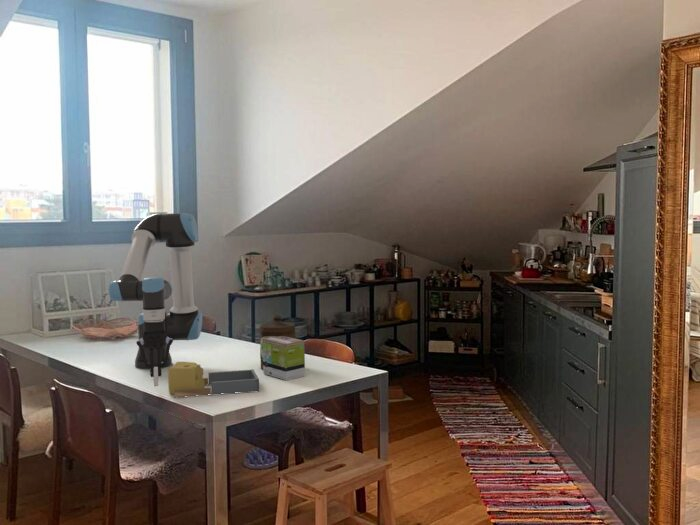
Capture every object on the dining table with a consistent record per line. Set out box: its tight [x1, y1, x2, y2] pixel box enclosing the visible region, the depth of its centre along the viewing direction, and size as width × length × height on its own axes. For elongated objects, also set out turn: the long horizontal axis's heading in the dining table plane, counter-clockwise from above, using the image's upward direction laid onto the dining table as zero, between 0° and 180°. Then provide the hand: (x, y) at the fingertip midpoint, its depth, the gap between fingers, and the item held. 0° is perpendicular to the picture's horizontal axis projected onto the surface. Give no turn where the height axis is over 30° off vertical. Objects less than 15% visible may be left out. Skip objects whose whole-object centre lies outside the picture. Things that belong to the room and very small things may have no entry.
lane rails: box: [174, 377, 212, 398], centre depth 258 cm, size 16×12×2 cm
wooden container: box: [259, 314, 297, 370], centre depth 293 cm, size 15×15×22 cm
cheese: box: [167, 361, 206, 395], centre depth 257 cm, size 10×11×10 cm
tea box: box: [262, 336, 306, 381], centre depth 280 cm, size 15×10×15 cm, turn 44°
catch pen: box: [207, 369, 260, 395], centre depth 262 cm, size 16×17×4 cm
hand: (156, 385), depth 255 cm, fingers closed
